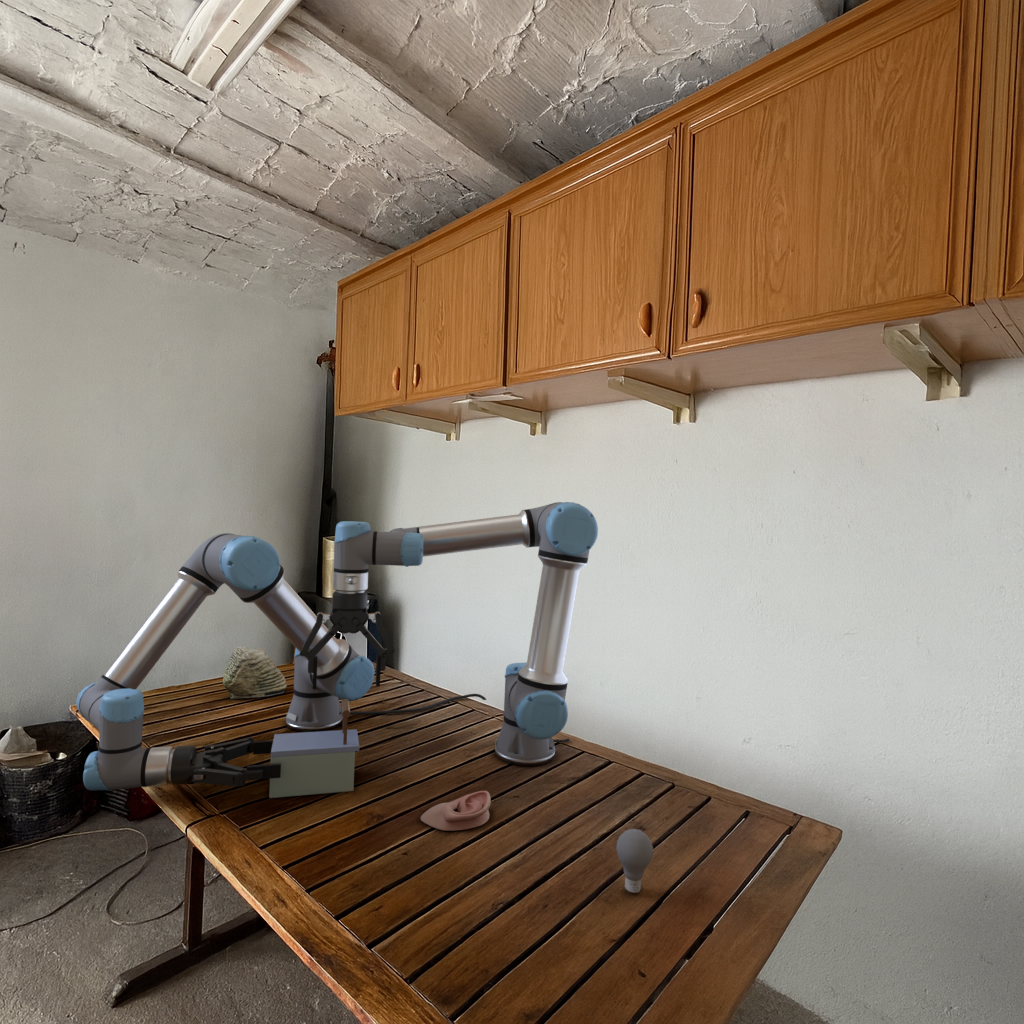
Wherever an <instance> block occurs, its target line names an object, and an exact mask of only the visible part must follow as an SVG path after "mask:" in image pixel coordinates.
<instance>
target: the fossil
mask: <svg viewBox="0 0 1024 1024" xmlns="http://www.w3.org/2000/svg"><path fill="white" fill-rule="evenodd" d="M222 676H223V677H222V685H223V687H224V688H225V690H226V691H228V693H229V698H230V699H250V698H264V697H271V696H275V695H281V694H284V693H285V691H286V689H287V687H288V686H287V680H286V678H285V676H284V674H283V673H282V672H281V669H279V668H278V667H277V665H276V663H275V662H274V660H273V659H272V658H271V657H270V656H269V655H268V654H267V653H266V652H265V650H264V649H263V648H260V647H258V648H251V647H247V646H246V647H245V646H238V647H237V648H236V649H235V650H233V651H232V653H231V656H230V657H229V659H228V660H227V663H226V666H225V668H224V671H223V675H222Z"/></svg>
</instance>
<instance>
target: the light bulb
mask: <svg viewBox="0 0 1024 1024" xmlns="http://www.w3.org/2000/svg"><path fill="white" fill-rule="evenodd" d="M615 849H616V854H617V857H618V859H619V861H620V863H621V865H622V867H623V873H624V874H623V875H624V876H625V878H624V888H625V890H627V891H628V892H630V893H634V894H635V893H639V892H640V891H641V889H642V887H641V886H642V879H643V877H644V875H645V871H646V868H647V867H648V866H649V864H650V863H651V861H652V859H653V855H654V847H653V843H652V841H651V838H649V836H648V835H647V834H646V833H645V832H643V831H642V830H641V829H636V828H629V829H627V830H625V831H623V832H622V833H621V834H620V835H619V837H618V839H617V841H616V847H615Z"/></svg>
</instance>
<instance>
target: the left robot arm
mask: <svg viewBox="0 0 1024 1024" xmlns="http://www.w3.org/2000/svg"><path fill="white" fill-rule="evenodd" d="M224 584H225V586H227V587H228V588H229V589H230V590H231V591H232V592H233V593H234V594H235V595H236V596H237V597H238V598H239V599H240V600H241V601H242V602H243V603H245V604H254V605H255V606H256V607H257V608H258V609H259V611H261V612H262V613H263V614H264V616H265V617H266V618H267V619H269V621H270V622H271V623H272V624H273V625H274V626H275V627H276V628H277V630H278V631H280V633H282V634H283V636H284V637H285V638H286V639H287V640H288V641H289V642H290V644H292V646H294V647H295V650H294V655H293V657H294V672H293V673H294V674H293V695H292V696H293V697H292V699H291V702H290V704H289V708H288V711H287V713H286V715H285V726H286V728H287V729H289V730H291V731H294V732H295V731H296V732H300V733H303V732H320V731H330V730H332V729H335V728H337V727H339V726H340V725H342V724H343V716H342V709H341V701H342V700H343V699H347V700H348V701H349V702H353V701H354V702H355V701H358V700H359V699H361V698H362V697H364V696H365V695H366V694H367V693H368V692H369V690H370V689H371V688H372V685H373V683H374V679H375V677H374V676H375V674H376V671H375V666H374V664H373V662H372V661H371V660H370V659H369V658H368V657H366V656H365V655H360V654H359V653H358V652H357V651H356V650H355V649H354V648H353V647H352V645H351V644H350V643H349V642H348V641H347V640H346V639H343V638H337V637H336V636H335V635H334V636H333V637H332V638H331V639H330V640H329V641H328V643H327V644H326V645H325V646H324V647H323V648H322V649H321V650H320V651H319V652H318V654H317V655H316V656H318V657H317V684H316V689H313V673H308V658H307V657H304V656H300V650H301V648H302V646H303V644H304V643H305V641H306V639H307V637H308V635H309V634H310V632H311V630H312V628H313V626H314V625H315V623H316V620H317V614H315V613H314V611H312V609H311V607H309V606H308V605H307V604H306V602H305V601H304V600H303V599H302V598H301V597H300V595H298V592H296V591H295V590H294V589H293V587H292V586H291V585H290V584H289V583H288V581H286V579H285V569H284V567H283V566H282V564H281V559H280V556H279V554H278V551H277V550H276V548H275V547H274V546H273V545H272V544H271V543H270V542H268V541H266V540H265V539H263V538H260V537H258V536H257V537H256V536H253V535H241V534H234V533H231V532H230V533H229V532H226V533H225V532H224V533H218V534H216V535H212V536H211V537H209V538H207V539H206V540H205V541H203V542H202V543H201V544H200V545H199V546H197V548H196V549H195V550H194V551H193V553H192V554H191V555H190V556H189V557H188V558H187V560H186V561H185V562H184V563H183V564H182V566H181V567H180V568H179V570H178V571H177V579H176V581H175V582H174V584H173V585H172V586H171V587H170V588H169V590H168V591H167V593H166V594H165V595H164V596H163V597H162V599H161V600H160V601H159V602H158V604H157V605H156V606H155V608H153V610H152V612H151V613H150V614H149V615H148V617H147V618H146V619H145V620H144V621H143V623H142V624H141V625H140V627H139V628H138V629H137V630H136V632H135V633H134V634H133V636H132V637H131V638H130V640H129V641H128V642H127V643H126V644H125V646H124V647H123V648H122V650H121V651H120V652H119V653H118V654H117V656H116V657H115V659H114V660H113V661H112V662H111V664H110V665H109V666H108V667H107V669H106V670H105V671H104V673H102V675H101V676H100V677H99V679H98V680H97V681H96V682H93V683H90V684H88V685H86V686H85V687H84V688H83V689H81V690H80V692H79V693H78V695H77V697H76V703H75V704H76V709H77V710H78V712H79V714H80V716H81V717H82V718H83V719H84V720H85V721H87V722H89V723H90V724H91V725H92V726H93V727H95V729H97V730H98V731H99V732H98V736H99V737H98V743H99V745H98V750H96V751H92V752H90V753H89V754H88V756H87V758H86V760H85V763H84V770H83V773H82V781H83V785H84V788H86V790H88V791H108V792H109V791H110V792H111V791H112V792H113V791H115V790H127V789H137V788H148V787H154V788H155V789H158V788H160V787H161V786H169V785H170V784H172V785H173V786H175V785H178V786H179V785H189V784H192V783H193V784H210V785H216V786H217V785H219V786H226V787H233V788H234V787H235V788H239V787H245V786H246V785H247V781H257V780H270V779H272V778H280V777H281V763H279V764H271V763H268V764H254V765H252V764H251V765H247V766H246V768H245V767H242V766H238V765H234V764H231V763H230V764H229V763H227V762H229V761H232V760H235V759H238V758H241V757H244V756H247V755H250V754H252V756H253V755H254V756H255V755H269V754H270V755H271V750H272V745H273V740H272V739H271V740H270V739H269V740H257V741H256V740H255V737H254V736H250V737H245V738H241V739H237V740H236V739H235V740H231V741H227V742H222V743H217V744H209V745H205V746H204V750H203V751H201V752H198V751H197V747H196V746H195V745H194V744H189V745H188V744H187V745H178V746H176V747H173V746H172V745H170V746H155V747H143V732H144V730H143V729H144V712H145V703H144V702H145V701H144V694H143V692H142V690H139V689H138V688H139V686H140V685H141V684H142V683H143V681H144V680H145V679H146V678H147V676H148V674H149V673H150V672H151V670H153V668H154V667H155V665H156V664H157V663H158V662H159V660H160V659H161V658H162V656H163V655H164V653H165V652H166V651H167V649H168V648H169V647H170V645H171V644H172V643H173V642H174V641H175V639H176V637H178V635H179V634H180V633H181V631H182V630H183V629H184V627H185V626H186V625H187V623H188V622H189V620H190V619H191V618H192V617H193V615H195V613H196V612H197V610H198V609H199V608H200V606H201V605H202V603H203V602H204V601H205V600H206V599H207V597H209V596H213V595H215V594H216V593H217V591H218V590H219V589H220V588H221V586H223V585H224ZM329 630H330V629H329V628H327V626H326V625H325V623H324V624H322V625H321V627H320V629H319V631H318V633H317V635H316V636H315V638H314V640H313V642H312V644H311V645H310V647H309V649H308V650H309V651H311V650H312V648H313V647H314V646H315V645H316V644H317V643H318V642H319V641H320V640H321V639H322V637H323V636H324V635H325V634H326V633H327V632H328V631H329ZM472 697H473V698H474V697H476V698H480V699H481V700H483V701H486V700H487V698H486V697H485V696H484V695H482V694H479V693H469V694H468V693H467V694H463V695H457V696H453V697H450V698H449V697H448V698H446V699H444V700H441V701H437V702H435V703H433V704H431V705H427V706H423V707H417V708H408V709H407V708H406V709H393V710H391V709H390V710H373V711H372V710H371V711H357V710H356V711H355V710H353V711H350V716H351V715H352V716H353V715H354V716H355V715H359V716H360V715H362V716H363V715H364V716H365V715H367V716H371V715H390V714H403V713H404V714H405V713H414V712H415V713H416V712H421V711H425V710H429V709H432V708H435V707H438V706H440V705H444V704H448V703H449V702H452V701H456V700H462V699H467V698H472ZM340 700H341V701H340Z"/></svg>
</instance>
